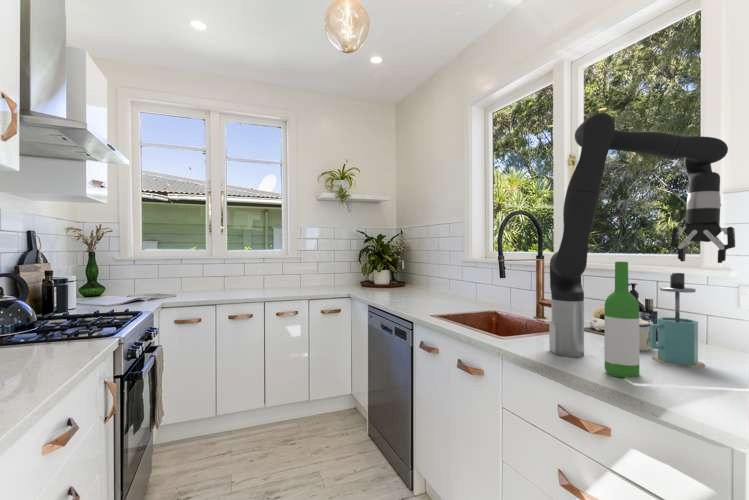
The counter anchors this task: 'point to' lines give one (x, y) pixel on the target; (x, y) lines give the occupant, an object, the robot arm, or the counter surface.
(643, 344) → the teacup with lid
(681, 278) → the knob on metal rod
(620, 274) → the wine bottle
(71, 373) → the counter surface
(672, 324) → the press pot
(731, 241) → the robot arm
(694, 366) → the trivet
